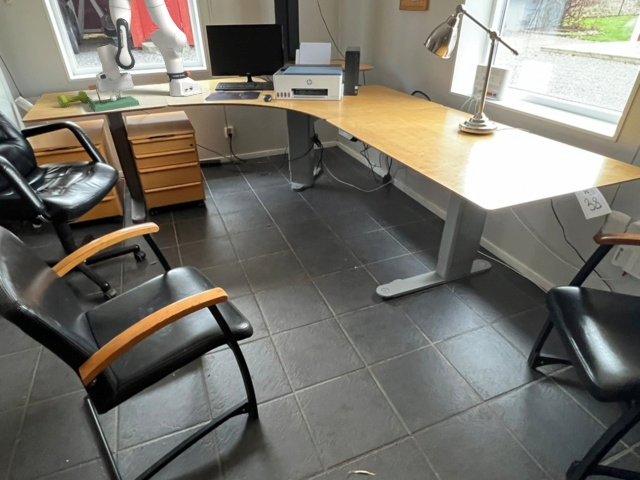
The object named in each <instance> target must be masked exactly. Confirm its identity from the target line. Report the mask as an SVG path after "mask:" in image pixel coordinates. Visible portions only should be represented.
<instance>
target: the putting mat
mask: <svg viewBox="0 0 640 480" xmlns="http://www.w3.org/2000/svg"><path fill="white" fill-rule="evenodd" d="M87 88H88V90H89V91H95V90H96V91H95V92H96V94H97V98H98V100H93V99H92V98H90V97H89V96H88V97H87V100H88V103H87V104H88V105H89V107H90V109H92V110H93V111H94V112H95V113H99V112H106V111H110V110H118V109H124V108H130V106H131V107H136V106H140V102H139V100H138V99H136V98H135V97H133V96H131V95H129V96H128V95H127V96H122V98H117V100H116V101H111V100H110V98H108V99H101V97H100V94H99V93H100V92H99V91H98V89H97V84H94V85H93V84H92V85H87Z"/></svg>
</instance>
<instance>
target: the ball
mask: <svg viewBox="0 0 640 480" xmlns="http://www.w3.org/2000/svg"><path fill="white" fill-rule="evenodd" d="M109 99H110V100H111V101H116V100H117V98H116V95H115V94H113V95H110V96H109Z"/></svg>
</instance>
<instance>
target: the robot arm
mask: <svg viewBox="0 0 640 480" xmlns="http://www.w3.org/2000/svg"><path fill="white" fill-rule="evenodd" d="M131 2H132V0H108V6H109V14H110V18H111V21H112V23H113V26H114V27H115V31H116V38H117V39H116V40H117V46H115V45H113V44H112V43H109V42H107V43H102V44H100V45H98V46H97V48H96V49H97V55H98V59H99V62H100V63H101V68H102V71H101V72H98V73H96V74H95V77H96V80H95V81H96V82H95V85H96V87H97V90H98V93H108V92H109V93H110V92H112V93H113V95H114V96H116V98H122V97H123V96H122V94H123V91H124V90H130V89H134V87H135V86H134V82H133V80H132V74H131V73H130V72H120V69H122V70H125V71H129V70H132V69H133V68H134V66H135V64H136V60H135V57H134V55H133V52H132V51H131V40H130V39H131V38H130V27H131V23H132V22H131V21H132V7H131V6H132V5H131ZM143 2H144V5H145V7H146V10H147V12H148V15H149V18H150V19H151V22H152V23H154V24H155V25H156V26H157V27H158V29H156V30H155V29H154V30H153V31H152V32H151V33H150V39H151V42H152V44H153V45H154V46H155V47H157V50H158V51H159V53H160V54H161V56H162V58H163V61H164V65H165V68H166V69H165V71H166V77H167V81H168V85H169V86H168V87H169V96H171V97H188V96H189V97H190V96H194V95H199V94H203V93H204V90H203V89H202V88H200V85H199V84H198V82H197V81H196V80H194V79H192V77H189V76H191V72H190V71H187V70H185V68H184V63H183V58H182V57H181V56H180V55H179V54H178V53H177V51H176V50H180V49H183V48H185V47H186V46H187V44H188V40H187V39H188V38H187V36H186V34H185V32H183V31H182V30H181V29H179V27H178V26H177V25H176V23H175V22H174V20H173V18H172V16H171V15H170V12H169V10H168V8H167V5H166V2H165V0H143ZM117 91H118V92H119V93H118V94H117V93H116V92H117Z"/></svg>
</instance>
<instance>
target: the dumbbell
mask: <svg viewBox="0 0 640 480" xmlns="http://www.w3.org/2000/svg"><path fill="white" fill-rule="evenodd" d="M56 97H57V102H58V104H59V106H61V108H69V106H70V105H69V103H70V104H71V103H75V102H80V103H83V104H89V103H88V100H87V97H89V95H88V94H87V92H86V91H84V90H80V91H78V92H77V95H74V96H69V97H66V96H65V95H64V94H58V95H57V96H56Z"/></svg>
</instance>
